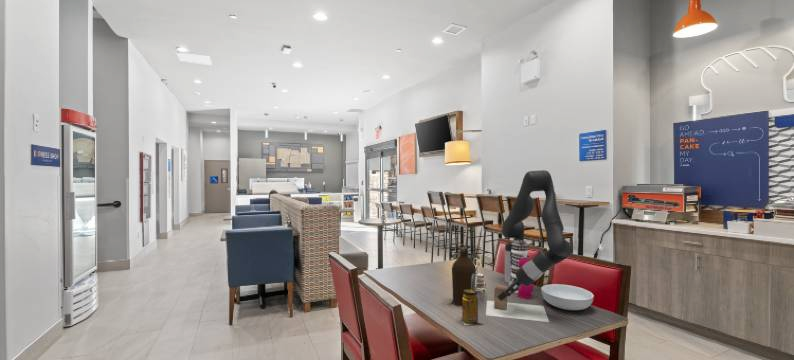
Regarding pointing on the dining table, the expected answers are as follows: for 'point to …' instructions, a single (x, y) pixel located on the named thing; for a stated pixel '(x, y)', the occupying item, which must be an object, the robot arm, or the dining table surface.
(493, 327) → the dining table surface
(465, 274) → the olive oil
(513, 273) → the decorative candle
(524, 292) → the pepper mill
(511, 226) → the robot arm
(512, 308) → the rubber mat
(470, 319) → the condiment
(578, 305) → the serving bowl
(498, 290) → the walnut block
